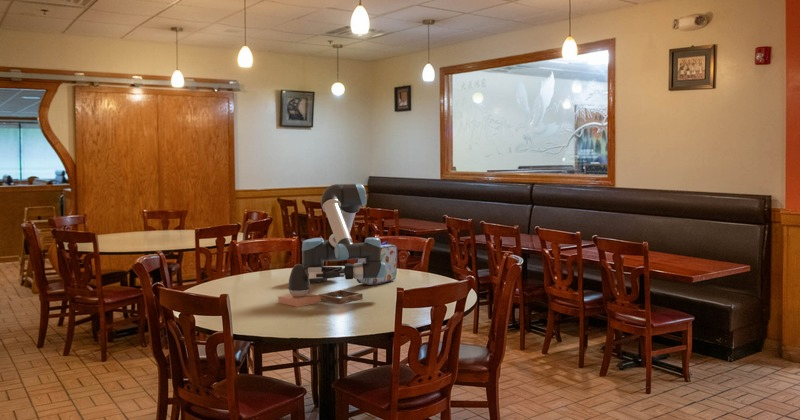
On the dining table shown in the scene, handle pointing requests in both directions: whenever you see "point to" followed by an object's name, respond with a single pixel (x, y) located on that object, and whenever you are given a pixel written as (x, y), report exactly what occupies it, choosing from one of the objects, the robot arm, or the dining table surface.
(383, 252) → the lunch box
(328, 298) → the brown wooden trivet
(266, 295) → the dining table surface
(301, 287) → the pump dispenser
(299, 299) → the stand
